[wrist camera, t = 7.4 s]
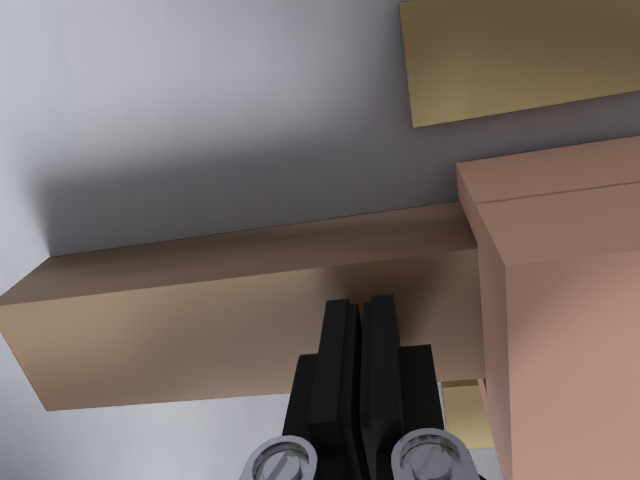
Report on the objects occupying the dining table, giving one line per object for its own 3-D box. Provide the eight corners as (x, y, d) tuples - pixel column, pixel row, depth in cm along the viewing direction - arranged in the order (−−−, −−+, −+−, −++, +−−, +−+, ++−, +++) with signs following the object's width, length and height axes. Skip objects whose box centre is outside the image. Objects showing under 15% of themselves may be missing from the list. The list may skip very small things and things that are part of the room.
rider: (635, 339, 15) (765, 511, 10) (470, 353, 16) (514, 517, 11) (656, 133, 12) (850, 226, 7) (455, 163, 13) (505, 266, 8)
